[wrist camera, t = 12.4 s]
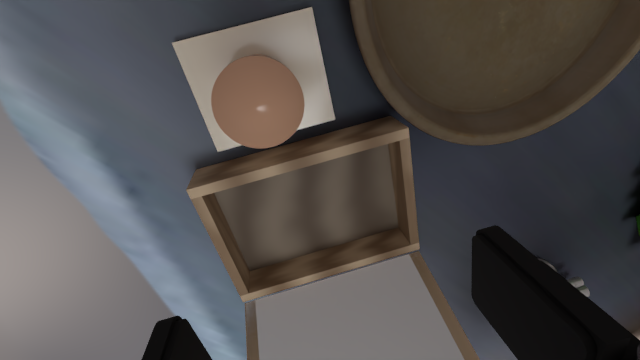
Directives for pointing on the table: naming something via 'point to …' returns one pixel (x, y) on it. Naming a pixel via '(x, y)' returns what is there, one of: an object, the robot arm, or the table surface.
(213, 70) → the sandstone tile
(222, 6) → the table surface
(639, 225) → the decorative tree
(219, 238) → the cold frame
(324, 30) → the table surface
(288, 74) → the tan rounded knob
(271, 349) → the lid
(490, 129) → the plant saucer
